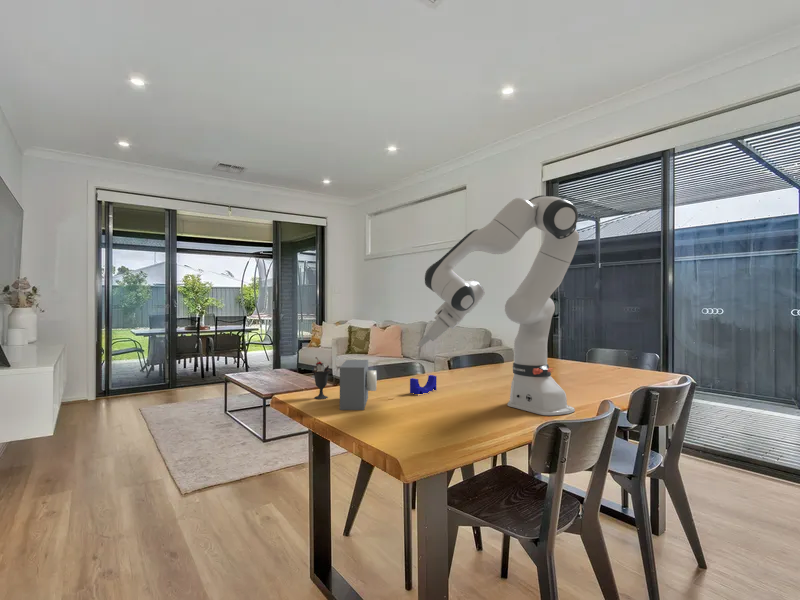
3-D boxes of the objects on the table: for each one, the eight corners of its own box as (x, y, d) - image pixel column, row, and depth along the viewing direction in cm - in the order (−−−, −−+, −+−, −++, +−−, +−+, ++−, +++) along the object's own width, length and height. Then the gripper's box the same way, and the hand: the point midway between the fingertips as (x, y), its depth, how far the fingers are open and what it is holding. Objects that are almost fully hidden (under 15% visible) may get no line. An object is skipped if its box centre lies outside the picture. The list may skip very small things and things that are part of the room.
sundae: (309, 396, 160) (309, 356, 160) (327, 395, 163) (327, 355, 163) (314, 400, 154) (314, 358, 154) (332, 398, 157) (332, 357, 157)
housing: (368, 397, 159) (368, 359, 159) (363, 410, 141) (364, 367, 141) (346, 397, 159) (346, 359, 159) (339, 409, 141) (339, 367, 141)
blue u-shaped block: (418, 396, 163) (418, 380, 163) (409, 394, 166) (410, 378, 166) (439, 391, 171) (439, 376, 171) (430, 389, 175) (430, 375, 175)
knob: (376, 388, 154) (376, 369, 154) (375, 392, 147) (375, 372, 147) (351, 388, 154) (351, 368, 154) (349, 392, 147) (349, 372, 147)
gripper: (439, 310, 162) (414, 336, 163) (441, 311, 142) (412, 341, 142) (451, 322, 162) (426, 348, 162) (455, 325, 142) (426, 354, 142)
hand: (419, 345), depth 152 cm, fingers closed
